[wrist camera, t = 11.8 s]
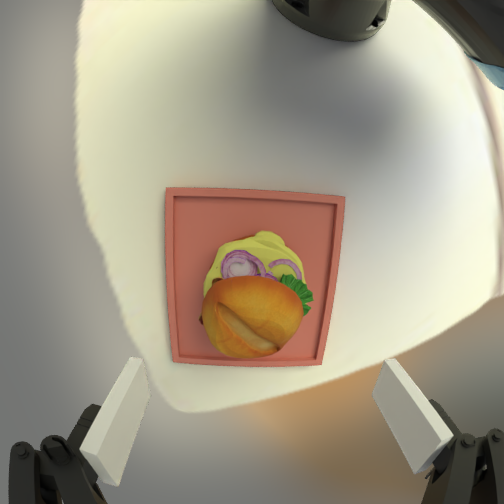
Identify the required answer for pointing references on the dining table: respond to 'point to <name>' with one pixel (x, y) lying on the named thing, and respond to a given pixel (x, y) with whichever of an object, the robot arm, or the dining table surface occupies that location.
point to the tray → (237, 226)
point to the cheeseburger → (254, 296)
